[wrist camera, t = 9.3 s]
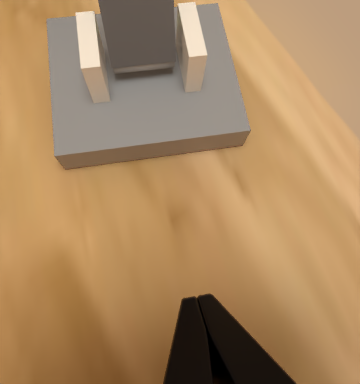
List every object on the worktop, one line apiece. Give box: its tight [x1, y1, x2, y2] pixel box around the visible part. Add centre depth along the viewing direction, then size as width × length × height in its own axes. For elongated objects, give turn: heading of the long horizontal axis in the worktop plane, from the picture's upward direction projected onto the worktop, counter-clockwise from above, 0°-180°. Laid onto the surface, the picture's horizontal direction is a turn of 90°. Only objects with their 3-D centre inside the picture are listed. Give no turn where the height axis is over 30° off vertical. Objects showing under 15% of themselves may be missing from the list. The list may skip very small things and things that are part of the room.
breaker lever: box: [98, 0, 176, 74], centre depth 20 cm, size 2×5×9 cm, turn 100°
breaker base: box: [47, 2, 251, 169], centre depth 24 cm, size 12×14×6 cm
